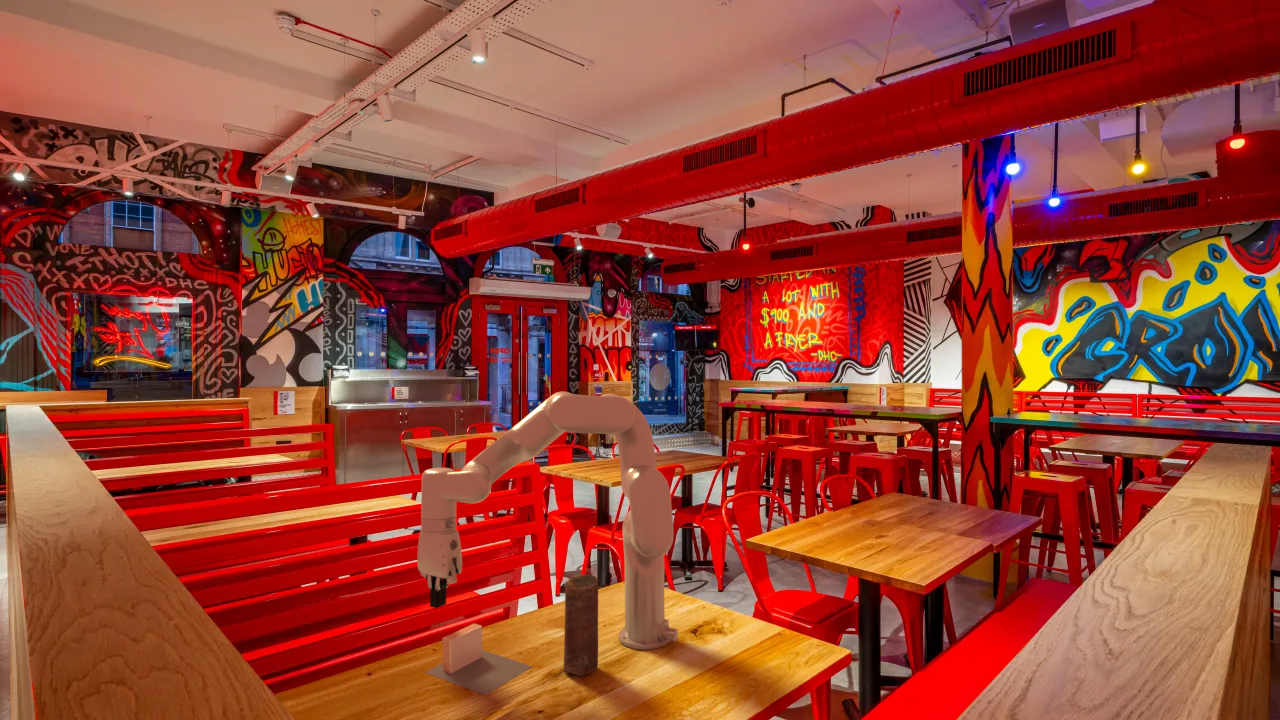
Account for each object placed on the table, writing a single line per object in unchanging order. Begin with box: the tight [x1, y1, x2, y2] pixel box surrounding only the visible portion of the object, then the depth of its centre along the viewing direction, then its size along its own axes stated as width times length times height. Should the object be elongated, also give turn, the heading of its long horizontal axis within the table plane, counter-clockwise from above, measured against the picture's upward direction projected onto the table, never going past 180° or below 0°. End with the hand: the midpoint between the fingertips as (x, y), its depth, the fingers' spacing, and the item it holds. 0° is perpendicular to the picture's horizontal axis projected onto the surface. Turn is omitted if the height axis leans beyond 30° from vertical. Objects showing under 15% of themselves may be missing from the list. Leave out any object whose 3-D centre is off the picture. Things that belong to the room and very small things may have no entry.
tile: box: [441, 623, 483, 673], centre depth 146 cm, size 2×9×7 cm, turn 147°
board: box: [424, 649, 533, 696], centre depth 143 cm, size 18×14×1 cm
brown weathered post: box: [563, 573, 599, 677], centre depth 144 cm, size 8×7×20 cm
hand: (438, 605), depth 150 cm, fingers closed
